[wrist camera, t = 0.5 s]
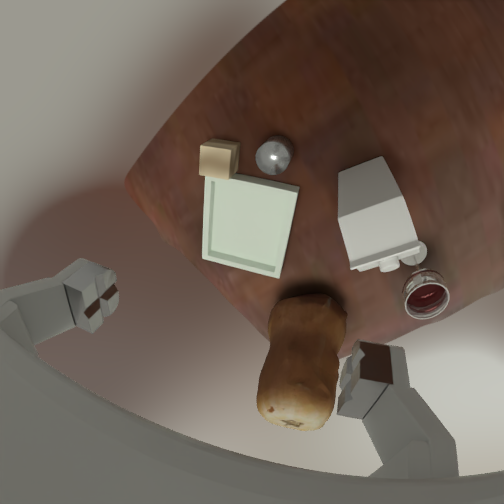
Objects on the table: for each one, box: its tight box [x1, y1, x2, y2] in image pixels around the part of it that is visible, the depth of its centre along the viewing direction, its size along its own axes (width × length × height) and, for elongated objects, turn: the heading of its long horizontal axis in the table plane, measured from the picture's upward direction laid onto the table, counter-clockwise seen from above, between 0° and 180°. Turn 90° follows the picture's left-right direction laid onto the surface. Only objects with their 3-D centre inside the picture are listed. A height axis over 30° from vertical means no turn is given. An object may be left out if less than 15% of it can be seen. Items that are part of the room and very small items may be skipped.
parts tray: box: [202, 173, 300, 278], centre depth 49 cm, size 16×14×2 cm
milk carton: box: [338, 156, 420, 272], centre depth 34 cm, size 7×7×19 cm
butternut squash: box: [257, 293, 347, 431], centre depth 46 cm, size 14×13×25 cm
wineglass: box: [401, 241, 449, 319], centre depth 40 cm, size 7×7×12 cm
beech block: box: [199, 139, 240, 180], centre depth 43 cm, size 4×4×4 cm
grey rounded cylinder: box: [256, 135, 294, 175], centre depth 40 cm, size 4×4×5 cm
